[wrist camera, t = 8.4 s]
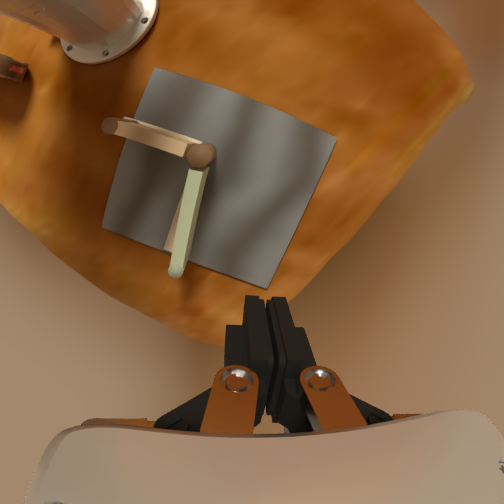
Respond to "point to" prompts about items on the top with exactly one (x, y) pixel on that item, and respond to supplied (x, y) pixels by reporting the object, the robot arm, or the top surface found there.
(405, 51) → the top surface
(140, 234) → the base
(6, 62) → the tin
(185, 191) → the bar
